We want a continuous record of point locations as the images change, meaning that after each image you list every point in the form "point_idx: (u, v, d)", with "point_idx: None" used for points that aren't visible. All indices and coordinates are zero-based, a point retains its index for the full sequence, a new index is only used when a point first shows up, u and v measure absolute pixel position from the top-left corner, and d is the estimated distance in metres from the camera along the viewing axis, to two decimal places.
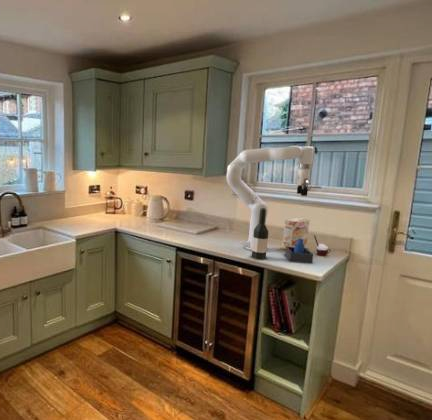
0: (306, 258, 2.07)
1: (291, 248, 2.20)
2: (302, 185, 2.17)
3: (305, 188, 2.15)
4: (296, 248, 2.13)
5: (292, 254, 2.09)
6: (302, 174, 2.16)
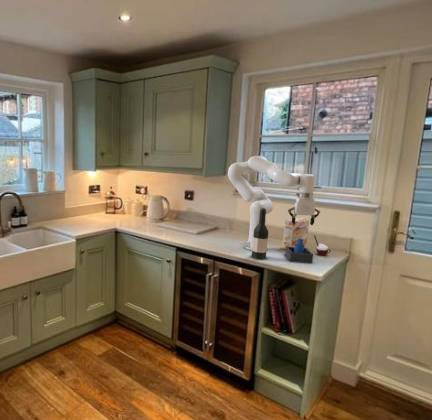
0: (306, 258, 2.07)
1: (291, 248, 2.20)
2: None
3: None
4: (296, 248, 2.13)
5: (292, 254, 2.09)
6: (314, 203, 2.06)
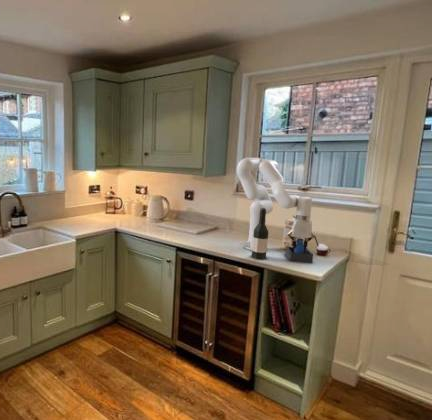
0: (306, 258, 2.07)
1: (291, 248, 2.20)
2: (307, 238, 2.10)
3: None
4: (296, 248, 2.13)
5: (292, 254, 2.09)
6: (311, 226, 2.08)
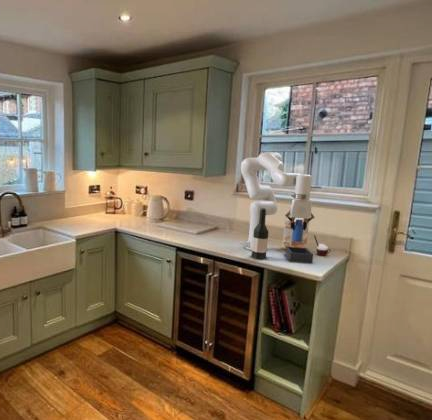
0: (306, 258, 2.07)
1: (291, 248, 2.20)
2: (306, 218, 1.96)
3: None
4: (295, 230, 1.99)
5: (292, 254, 2.09)
6: None
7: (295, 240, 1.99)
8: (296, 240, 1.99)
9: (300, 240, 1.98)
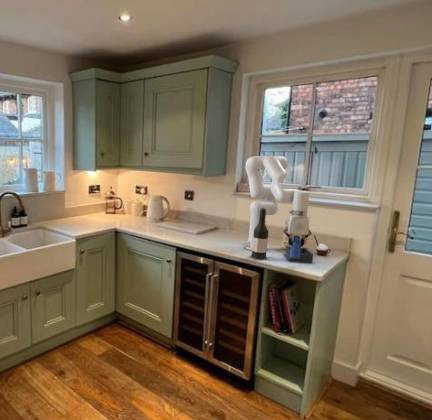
0: (306, 258, 2.07)
1: None
2: (304, 235, 1.96)
3: None
4: (292, 246, 1.99)
5: None
6: (308, 222, 1.94)
7: (293, 256, 1.99)
8: (294, 256, 1.99)
9: (298, 256, 1.98)
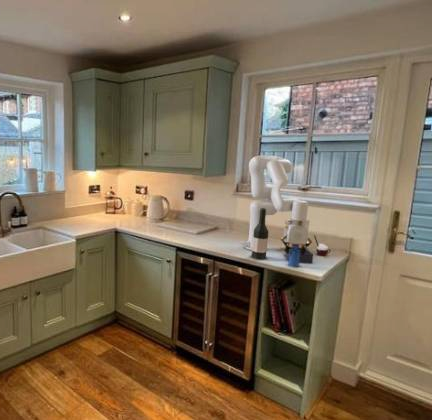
0: (306, 258, 2.07)
1: (291, 248, 2.20)
2: (304, 244, 1.97)
3: None
4: (291, 254, 1.99)
5: None
6: (307, 231, 1.95)
7: (292, 265, 2.00)
8: (293, 265, 1.99)
9: (297, 265, 1.99)
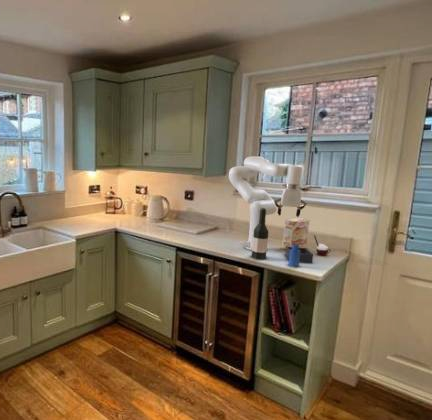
0: (306, 258, 2.07)
1: (291, 248, 2.20)
2: None
3: None
4: (291, 254, 1.99)
5: None
6: (300, 195, 2.04)
7: (292, 265, 2.00)
8: (293, 265, 1.99)
9: (297, 265, 1.99)
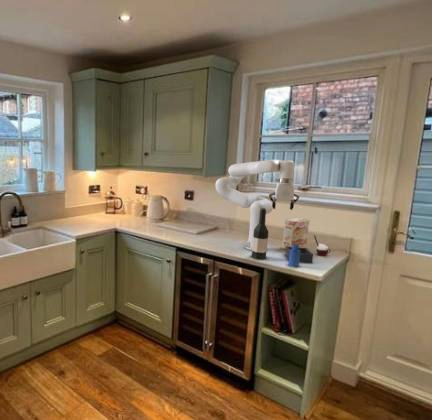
0: (306, 258, 2.07)
1: (291, 248, 2.20)
2: None
3: None
4: (291, 254, 1.99)
5: None
6: (293, 189, 2.13)
7: (292, 265, 2.00)
8: (293, 265, 1.99)
9: (297, 265, 1.99)
